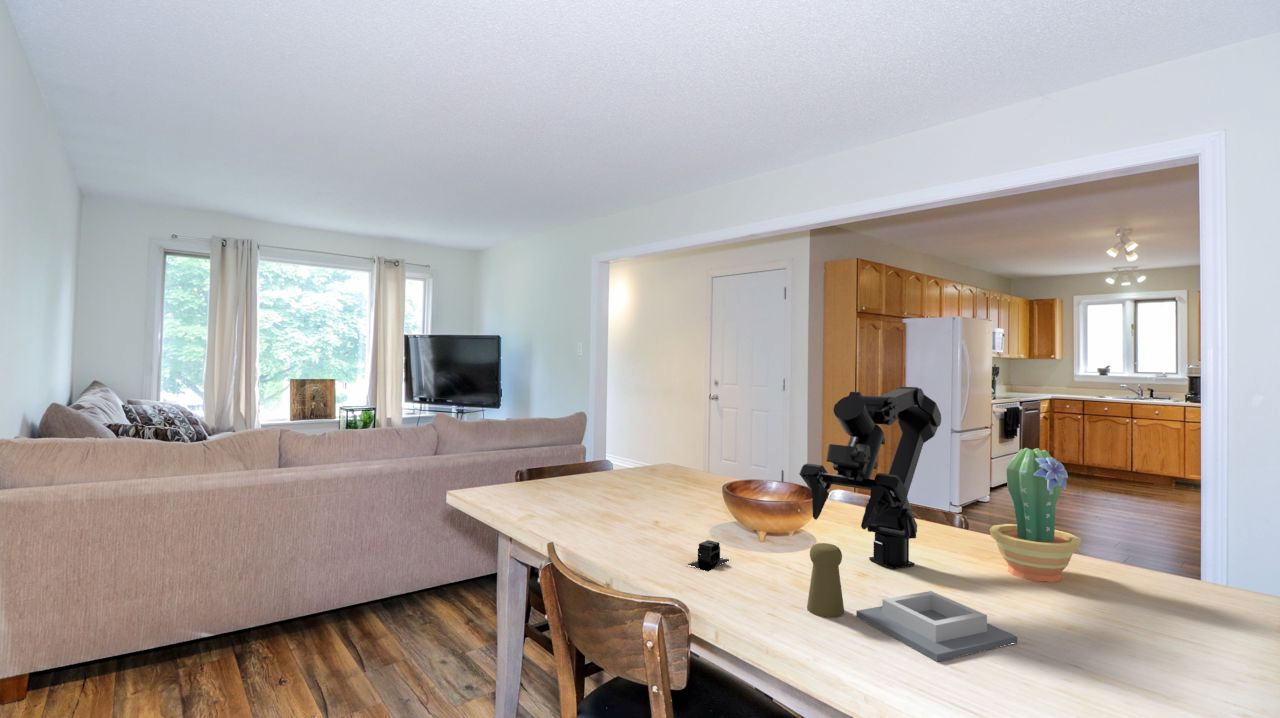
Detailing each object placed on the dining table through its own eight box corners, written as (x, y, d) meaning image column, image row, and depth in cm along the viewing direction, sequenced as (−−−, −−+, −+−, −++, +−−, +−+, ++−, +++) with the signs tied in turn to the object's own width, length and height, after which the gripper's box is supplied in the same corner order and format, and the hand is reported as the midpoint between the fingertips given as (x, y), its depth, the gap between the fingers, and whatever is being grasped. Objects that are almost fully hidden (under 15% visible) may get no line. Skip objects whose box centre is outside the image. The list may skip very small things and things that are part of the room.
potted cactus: (993, 580, 116) (993, 450, 116) (986, 557, 130) (986, 442, 130) (1091, 593, 110) (1091, 456, 110) (1072, 568, 123) (1072, 446, 124)
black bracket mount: (707, 577, 118) (707, 553, 118) (676, 569, 123) (677, 546, 123) (738, 561, 128) (738, 539, 128) (709, 554, 133) (709, 533, 133)
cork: (844, 606, 103) (844, 541, 103) (844, 620, 97) (844, 551, 97) (808, 601, 105) (808, 538, 105) (805, 614, 99) (806, 547, 99)
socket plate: (929, 603, 104) (929, 583, 104) (1017, 643, 89) (1017, 619, 90) (856, 616, 98) (856, 595, 99) (937, 661, 84) (937, 636, 84)
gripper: (801, 422, 117) (774, 492, 110) (898, 430, 104) (874, 509, 97) (823, 454, 124) (798, 521, 116) (917, 465, 110) (895, 542, 103)
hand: (837, 523), depth 108 cm, fingers open, 9 cm apart
